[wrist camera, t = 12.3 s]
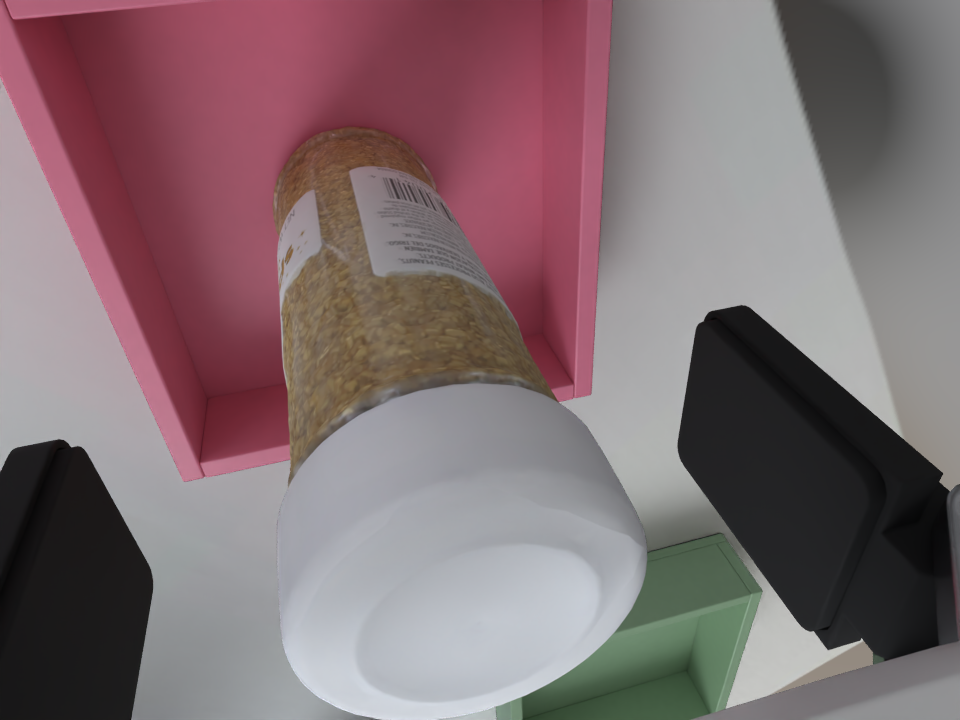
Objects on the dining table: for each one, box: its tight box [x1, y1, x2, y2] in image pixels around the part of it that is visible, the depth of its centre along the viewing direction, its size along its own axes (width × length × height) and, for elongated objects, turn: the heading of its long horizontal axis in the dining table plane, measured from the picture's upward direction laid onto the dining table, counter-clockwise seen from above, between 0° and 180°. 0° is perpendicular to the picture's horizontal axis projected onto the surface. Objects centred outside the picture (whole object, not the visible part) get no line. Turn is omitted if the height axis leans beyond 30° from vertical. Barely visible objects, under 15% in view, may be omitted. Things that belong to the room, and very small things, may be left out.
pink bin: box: [0, 0, 613, 482], centre depth 17 cm, size 12×12×4 cm
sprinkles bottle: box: [272, 126, 647, 720], centre depth 13 cm, size 5×5×13 cm
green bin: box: [496, 533, 763, 720], centre depth 34 cm, size 12×12×4 cm
